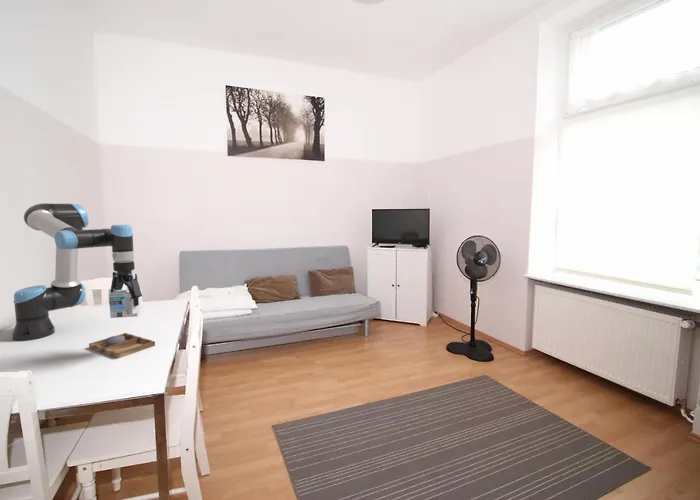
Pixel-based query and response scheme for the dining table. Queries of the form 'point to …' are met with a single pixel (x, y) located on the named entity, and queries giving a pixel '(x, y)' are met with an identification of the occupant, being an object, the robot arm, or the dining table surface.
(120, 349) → the wooden divided tray
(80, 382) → the dining table surface
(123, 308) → the light bulb box
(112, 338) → the grey smooth rounded part
